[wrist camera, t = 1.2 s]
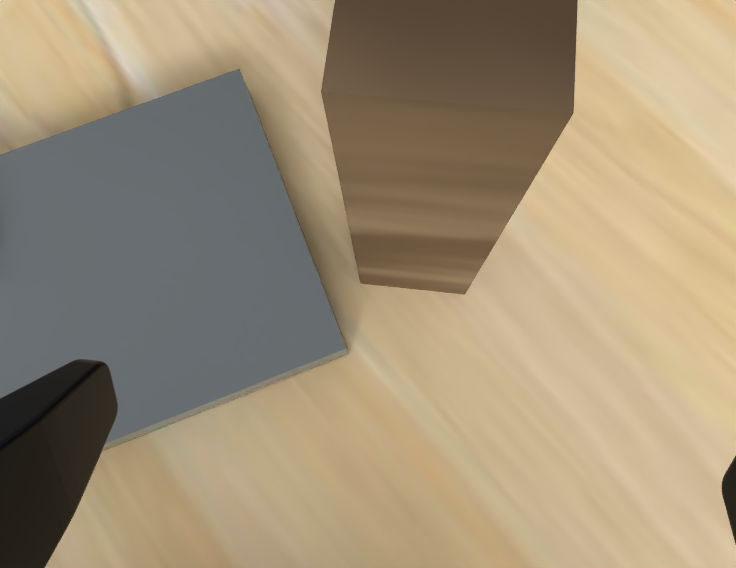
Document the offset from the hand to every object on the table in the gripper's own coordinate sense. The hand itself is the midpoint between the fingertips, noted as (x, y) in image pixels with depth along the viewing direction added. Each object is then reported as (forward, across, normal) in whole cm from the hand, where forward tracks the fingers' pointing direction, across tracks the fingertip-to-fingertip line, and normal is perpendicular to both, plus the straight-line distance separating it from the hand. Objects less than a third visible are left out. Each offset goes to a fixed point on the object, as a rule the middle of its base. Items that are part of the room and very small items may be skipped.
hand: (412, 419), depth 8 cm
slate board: (+12, +12, +6) cm, 18 cm away
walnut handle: (+14, 0, +4) cm, 14 cm away
